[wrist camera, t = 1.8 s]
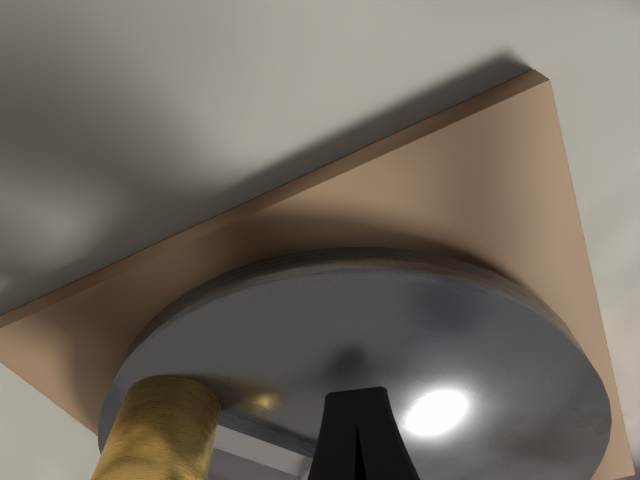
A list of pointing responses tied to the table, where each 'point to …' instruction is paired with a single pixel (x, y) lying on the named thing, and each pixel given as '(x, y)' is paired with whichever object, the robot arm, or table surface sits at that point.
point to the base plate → (353, 243)
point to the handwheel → (354, 373)
